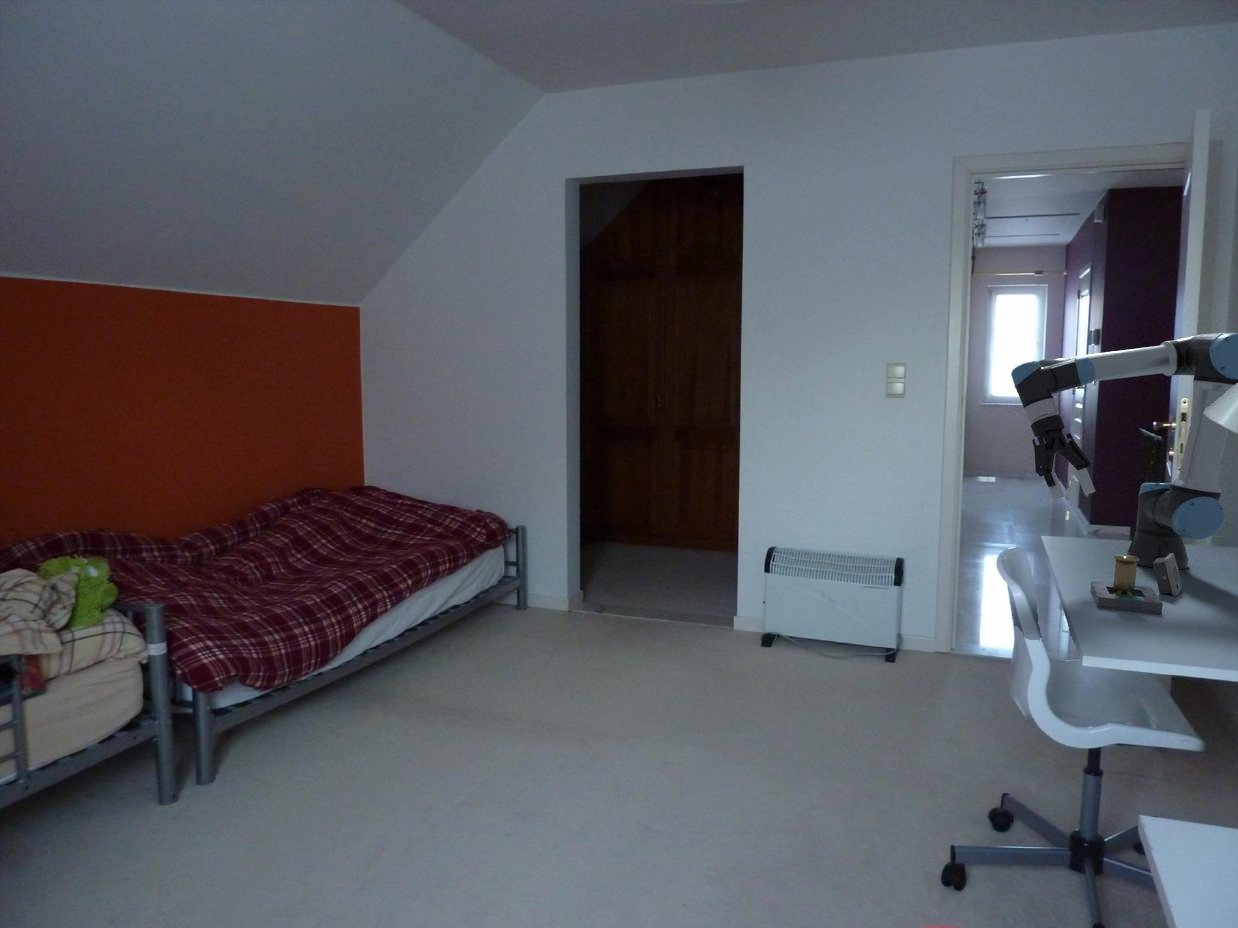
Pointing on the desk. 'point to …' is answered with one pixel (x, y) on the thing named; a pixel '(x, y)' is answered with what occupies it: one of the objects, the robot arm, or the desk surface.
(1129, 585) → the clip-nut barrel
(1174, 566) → the electrical switch
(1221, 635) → the desk surface
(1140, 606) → the rack plate
